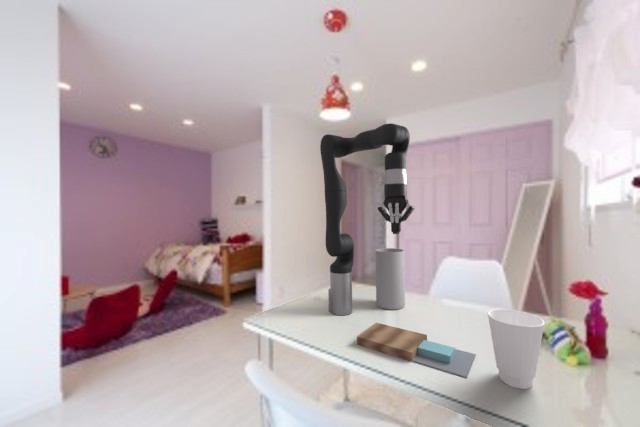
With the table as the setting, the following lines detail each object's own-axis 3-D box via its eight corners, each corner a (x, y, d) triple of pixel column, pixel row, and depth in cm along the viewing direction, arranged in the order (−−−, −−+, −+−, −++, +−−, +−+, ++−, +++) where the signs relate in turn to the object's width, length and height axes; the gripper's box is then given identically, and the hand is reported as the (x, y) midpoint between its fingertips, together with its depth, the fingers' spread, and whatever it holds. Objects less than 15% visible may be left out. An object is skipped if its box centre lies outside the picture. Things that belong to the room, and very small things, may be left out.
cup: (497, 362, 80) (496, 305, 80) (550, 381, 71) (550, 317, 71) (480, 379, 72) (480, 316, 72) (538, 402, 63) (538, 331, 63)
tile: (417, 354, 85) (417, 347, 85) (424, 346, 90) (423, 339, 90) (450, 363, 79) (450, 356, 79) (455, 354, 84) (455, 347, 84)
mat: (412, 361, 81) (412, 360, 81) (427, 342, 92) (427, 341, 92) (466, 378, 73) (466, 377, 73) (475, 355, 84) (475, 354, 84)
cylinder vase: (372, 307, 126) (371, 251, 126) (381, 299, 137) (381, 247, 137) (400, 312, 120) (399, 253, 120) (408, 303, 130) (407, 249, 130)
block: (357, 344, 92) (356, 336, 92) (376, 329, 103) (376, 322, 103) (412, 361, 81) (412, 352, 81) (427, 342, 92) (427, 334, 92)
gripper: (372, 184, 99) (373, 234, 99) (410, 181, 91) (411, 235, 91) (382, 185, 105) (382, 232, 105) (418, 182, 97) (418, 233, 97)
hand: (396, 233), depth 98 cm, fingers closed
